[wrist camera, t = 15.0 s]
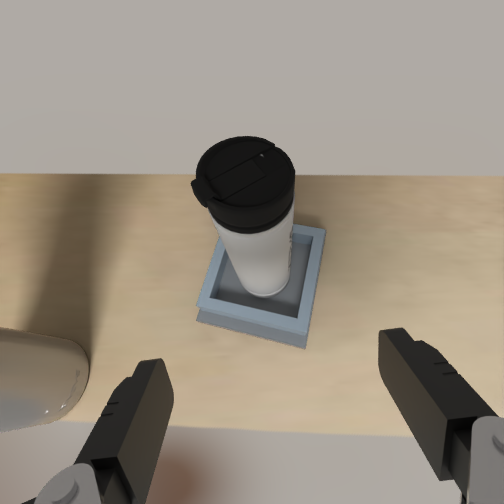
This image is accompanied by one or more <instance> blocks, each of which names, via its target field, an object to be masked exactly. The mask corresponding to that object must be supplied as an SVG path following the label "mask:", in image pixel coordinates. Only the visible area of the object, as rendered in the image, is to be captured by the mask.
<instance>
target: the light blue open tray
mask: <svg viewBox="0 0 504 504" xmlns="http://www.w3.org/2000/svg"><path fill="white" fill-rule="evenodd" d="M325 236H326V230H325V229H321V228H315V227H309V226H303V225H298V224H293V233H292V250H291V267H290V279H289V282H288V284H287V286H286V288H285V289H284V290H283V291H282V292H281V293H280V294H278V295H276V296H274V297H271V298H258V297H255V296H253V295H251V294H249V293H248V292H247V291H246V290H245V289H244V288H243V286H242V284H241V282H240V280H239V278H238V276H237V273H236V271H235V269H234V267H233V265H232V262H231V260H230V258H229V256H228V253H227V251H226V249H225V247H224V245H223V242H222V240H221V238H220V236H219V239H218V242H217V245H216V248H215V251H214V254H213V257H212V260H211V263H210V266H209V269H208V272H207V275H206V278H205V281H204V284H203V286H202V289H201V292H200V295H199V298H198V301H197V304H196V306H197V307H199V308H200V310H199V313H198V316H197V319H196V321H198V322H201V323H204V324H208V325H212V326H216V327H220V328H224V329H228V330H232V331H236V332H240V333H244V334H247V335H251V336H255V337H259V338H263V339H267V340H271V341H275V342H279V343H283V344H286V345H290V346H294V347H298V348H302V349H305V348H306V343H307V337H308V332H309V326H310V320H311V315H312V309H313V304H314V298H315V292H316V287H317V281H318V275H319V270H320V264H321V258H322V253H323V247H324V241H325Z"/></svg>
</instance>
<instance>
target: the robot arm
mask: <svg viewBox="0 0 504 504" xmlns="http://www.w3.org/2000/svg"><path fill="white" fill-rule="evenodd" d="M378 365H379V371H380V375H381V377H382V380H383V382H384V384H385V386H386V387H387V389H388V391H389V393H390V395H391V396H392V398H393V400H394V402H395V403H396V405H397V407H398V409H399V410H400V412H401V414H402V416H403V417H404V419H405V421H406V423H407V425H408V426H409V428H410V430H411V432H412V433H413V435H414V437H415V439H416V440H417V442H418V443H419V446H420V447H421V449H422V451H423V452H424V454H425V456H426V458H427V460H428V461H429V463H430V465H431V467H432V469H433V470H434V472H435V474H436V476H437V477H438V479H439V481H443V480H453V479H454V480H455V482H456V484H457V485H458V487H459V489H460V490H461V496H460V504H504V418H501V417H499V416H498V415H497V414H496V413H495V412H494V411H493V410H492V409H491V408H490V407H489V406H488V404H487V403H486V402H485V401H484V400H483V399H482V398H481V397H480V396H479V395H478V394H477V393H476V391H475V390H474V389H473V388H472V387H471V386H470V385H469V384H468V383H467V382H466V381H465V379H464V378H463V377H462V376H461V375H460V374H458V373H457V371H456V370H455V369H454V367H453V366H452V365H451V364H449V363H448V361H447V360H446V359H445V358H444V357H443V355H442V354H441V353H440V352H439V351H438V350H437V349H435V348H434V347H432V346H430V345H429V344H427V343H425V342H424V341H422V340H420V341H414V340H413V339H412V338H411V336H410V335H409V334H408V333H407V332H406V330H405V329H403V328H394V329H386V330H380V331H379V347H378ZM88 374H89V365H88V360H87V356H86V354H85V352H84V350H83V349H82V348H81V347H80V346H79V344H77V343H75V342H74V341H71V340H68V339H63V338H58V337H52V336H47V335H42V334H36V333H31V332H25V331H20V330H14V329H9V328H3V327H0V433H2V432H7V431H12V430H18V429H23V428H28V427H33V426H38V425H43V424H48V423H51V422H54V421H56V420H58V419H60V418H61V417H63V416H64V415H66V414H67V413H68V412H69V411H70V410H71V409H72V408H73V407H74V406H75V404H76V403H77V402H78V401H79V399H80V397H81V395H82V394H83V392H84V389H85V386H86V384H87V380H88ZM173 403H174V393H173V388H172V385H171V382H170V379H169V376H168V373H167V370H166V366H165V363H164V361H163V360H162V359H161V358H159V359H152V360H144V361H140V362H139V363H138V365H137V367H136V369H135V371H134V373H133V375H132V377H126V378H125V379H124V380H123V381H122V382H121V383H120V384H119V385H118V386H117V387H116V389H115V390H114V391H113V393H112V395H111V397H110V399H109V400H108V402H107V406H105V408H104V410H103V411H102V413H101V417H99V419H98V421H97V422H96V424H95V426H94V428H93V430H92V432H91V433H90V435H89V437H88V439H87V441H86V443H85V445H84V446H83V448H82V450H81V452H80V454H79V456H78V457H77V459H76V461H75V463H74V464H73V465H72V466H70V467H67V468H66V469H64V470H62V471H61V472H59V473H58V474H57V475H55V476H54V477H53V478H52V479H51V480H50V481H49V482H48V483H47V484H46V485H45V486H44V487H43V489H42V490H41V492H40V493H39V495H38V496H37V497H36V498H33V499H31V500H29V501H27V502H24V503H22V504H145V502H146V498H147V495H148V491H149V488H150V484H151V481H152V477H153V474H154V470H155V467H156V464H157V460H158V457H159V453H160V450H161V446H162V443H163V439H164V436H165V432H166V429H167V426H168V422H169V419H170V415H171V412H172V408H173Z"/></svg>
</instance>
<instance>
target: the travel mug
mask: <svg viewBox="0 0 504 504" xmlns="http://www.w3.org/2000/svg"><path fill="white" fill-rule="evenodd" d="M294 185H295V169H294V167H293V164H292V162H291V160H290V158H289V157H288V156H287V154H286V153H285V152H283V151H282V150H281V149H280V148H278V147H275V144H274V143H272V142H270V141H268V140H266V139H263V138H259V137H252V136H242V137H234V138H229V139H226V140H224V141H221V142H219V143H217V144H215V145H213V146H212V147H211V148H209V149H208V150H207V151H206V152H205V153H204V155H203V156H202V157H201V159H200V161H199V163H198V165H197V169H196V179H195V180H193V181H192V182H191V186H192V189H193V192H194V195H195V196H196V198H197V199H198V201H199V202H200V203H201V205H203V206H204V207H206V208H207V207H208V211H209V214H210V216H211V218H212V220H213V222H214V225H215V227H216V229H217V231H218V234H219V236H220V238H221V240H222V242H223V245H224V247H225V249H226V251H227V253H228V256H229V258H230V260H231V262H232V265H233V267H234V269H235V271H236V273H237V276H238V278H239V280H240V282H241V284H242V286H243V288H244V289H245V290H246V291H247V292H248V293H249V294H251V295H253V296H255V297H258V298H271V297H274V296H276V295H278V294H280V293H281V292H282V291H283V290H284V289H285V288H286V286H287V284H288V282H289V279H290V267H291V250H292V233H293V216H294V200H295V191H294Z"/></svg>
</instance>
